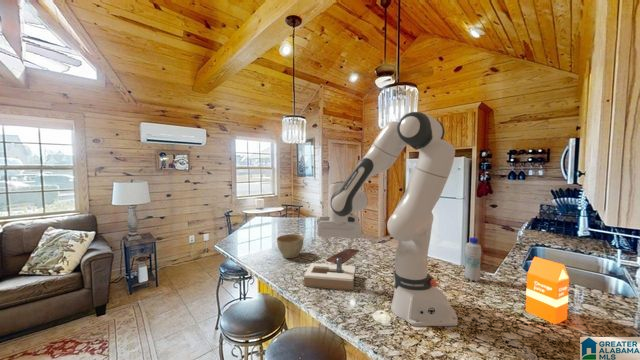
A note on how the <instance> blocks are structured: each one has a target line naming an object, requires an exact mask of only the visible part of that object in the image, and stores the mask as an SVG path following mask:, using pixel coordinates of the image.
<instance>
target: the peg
mask: <svg viewBox="0 0 640 360" xmlns="http://www.w3.org/2000/svg"><path fill="white" fill-rule="evenodd" d="M336 265H337V273H342V265H343V263H342V258H337V264H336Z"/></svg>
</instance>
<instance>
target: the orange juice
mask: <svg viewBox="0 0 640 360" xmlns="http://www.w3.org/2000/svg"><path fill="white" fill-rule="evenodd" d="M526 275H527V277H526V289H525V291H526V292H525V294H526V295H525V296H526V297H525V298H526V299H525V312H528V313H529V314H531V315H533V316H536V317H538V318H540V319H542V320H545V321H547V322H548V323H550V324H553V325H557V324H560V323H562V322H564V321H565V320H567V319H568V305H569V304H568V303H569V287H570V277H569V275H568V272H567V270H566V266H565V264H562V263H559V262H555V261H552V260H548V259H545V258H541V257H538V256H534V257H533V258H532V262H531V263H530V266H529V268H528V271H527V274H526Z"/></svg>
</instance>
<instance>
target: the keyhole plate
mask: <svg viewBox="0 0 640 360" xmlns="http://www.w3.org/2000/svg"><path fill="white" fill-rule="evenodd" d="M355 279H356V266H355V265H347V264H346V265H343V264H342V273H337V264H329V263H314V262H311V263H310V264H309V267H308V268H307V270H306V271H305V273H304V275H303V282H304V283H303V284H304V285H303V286H304V287H311V288H313V287H314V288H321V289H322V288H325V289H335V290H345V291H346V290H347V291H354V287H355V285H354V284H355V283H354V281H355Z"/></svg>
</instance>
